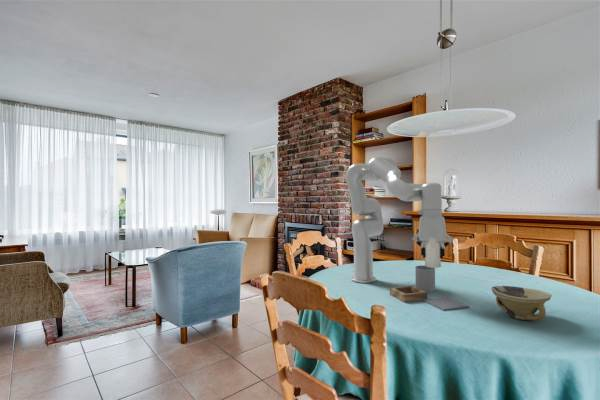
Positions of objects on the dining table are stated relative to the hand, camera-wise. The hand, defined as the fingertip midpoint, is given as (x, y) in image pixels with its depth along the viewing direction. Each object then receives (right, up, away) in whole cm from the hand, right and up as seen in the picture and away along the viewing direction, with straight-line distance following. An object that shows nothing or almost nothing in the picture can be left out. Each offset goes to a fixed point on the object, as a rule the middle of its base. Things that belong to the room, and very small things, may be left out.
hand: (432, 257), depth 130 cm
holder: (-8, -18, +7) cm, 21 cm away
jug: (0, -4, -1) cm, 4 cm away
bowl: (+24, -18, -17) cm, 35 cm away
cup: (+4, -18, +18) cm, 26 cm away
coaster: (+4, -18, -3) cm, 19 cm away
